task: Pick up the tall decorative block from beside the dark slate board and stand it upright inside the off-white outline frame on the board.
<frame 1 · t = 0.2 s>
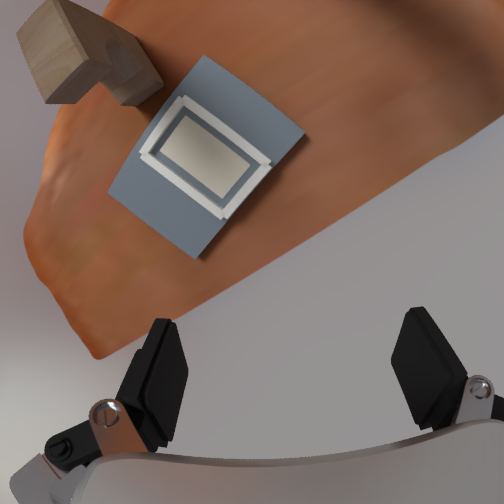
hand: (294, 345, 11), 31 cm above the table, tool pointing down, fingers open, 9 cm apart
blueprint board: (198, 159, 38), on the table
decorative block: (134, 69, 32), on the table
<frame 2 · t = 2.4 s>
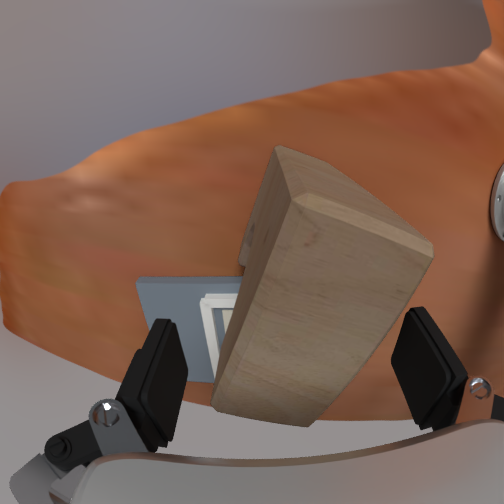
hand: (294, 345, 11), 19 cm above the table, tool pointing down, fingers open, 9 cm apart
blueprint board: (243, 333, 35), on the table
decorative block: (283, 204, 28), on the table
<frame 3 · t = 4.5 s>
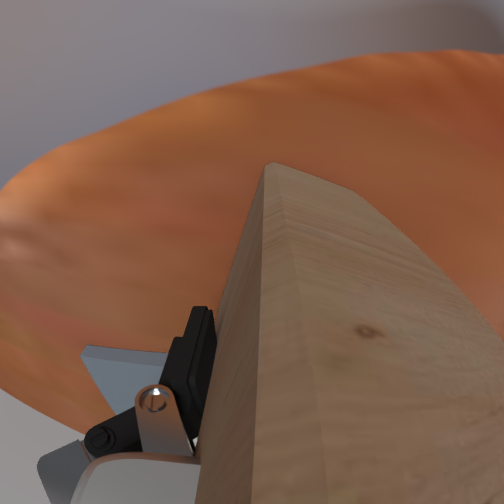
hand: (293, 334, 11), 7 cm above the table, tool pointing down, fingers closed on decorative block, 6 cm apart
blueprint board: (227, 412, 25), on the table
decorative block: (281, 259, 17), on the table, touching gripper
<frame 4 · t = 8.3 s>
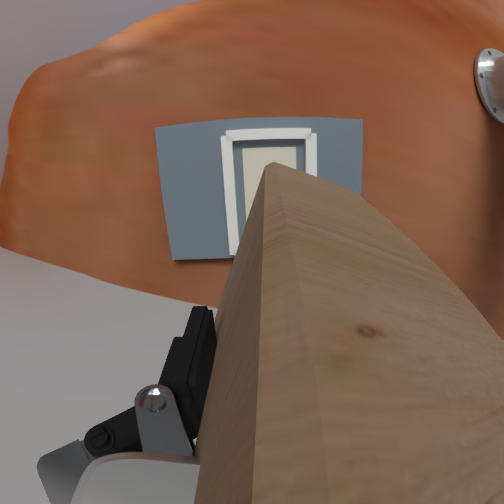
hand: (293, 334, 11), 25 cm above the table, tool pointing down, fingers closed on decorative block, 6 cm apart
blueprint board: (261, 187, 34), on the table
decorative block: (281, 259, 17), point 18 cm above the table, touching gripper
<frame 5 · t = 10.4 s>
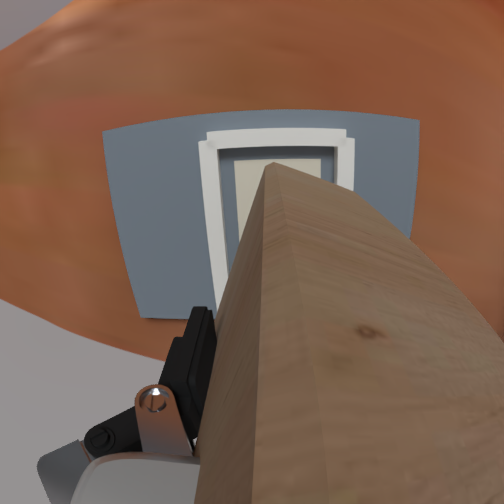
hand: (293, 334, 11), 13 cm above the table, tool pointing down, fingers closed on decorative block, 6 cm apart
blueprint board: (265, 220, 23), on the table
decorative block: (281, 259, 17), point 6 cm above the table, touching gripper
when the fingers open (10 cm above the table, at t = 12.0 s): decorative block stays where it is, point 2 cm above the table.
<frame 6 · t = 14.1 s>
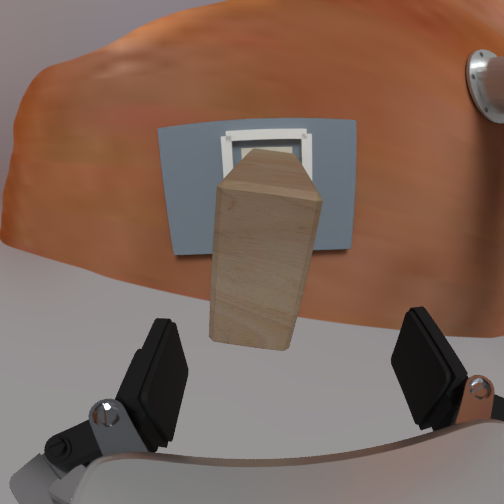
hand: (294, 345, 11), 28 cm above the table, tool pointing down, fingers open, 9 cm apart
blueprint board: (259, 185, 36), on the table
decorative block: (268, 194, 34), point 2 cm above the table, touching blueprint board
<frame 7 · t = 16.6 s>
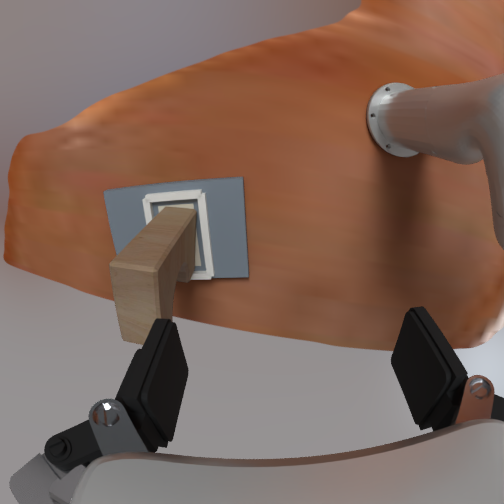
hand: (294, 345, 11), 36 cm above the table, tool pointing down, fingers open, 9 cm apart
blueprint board: (176, 230, 48), on the table
decorative block: (180, 238, 47), point 1 cm above the table, touching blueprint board
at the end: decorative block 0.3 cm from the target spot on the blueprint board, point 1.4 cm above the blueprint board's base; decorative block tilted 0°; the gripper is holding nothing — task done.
